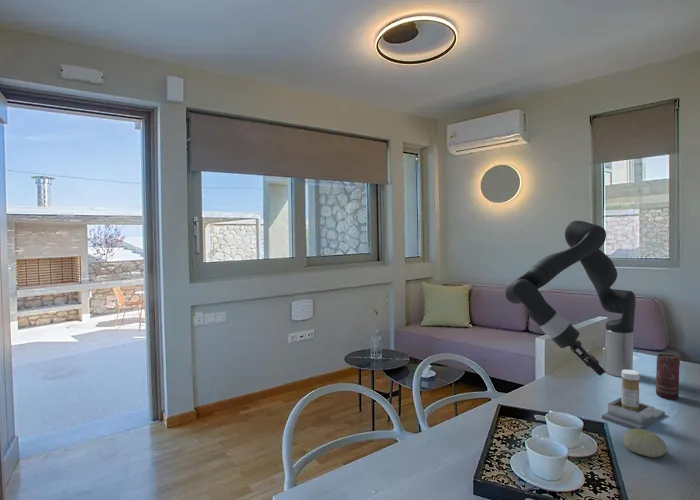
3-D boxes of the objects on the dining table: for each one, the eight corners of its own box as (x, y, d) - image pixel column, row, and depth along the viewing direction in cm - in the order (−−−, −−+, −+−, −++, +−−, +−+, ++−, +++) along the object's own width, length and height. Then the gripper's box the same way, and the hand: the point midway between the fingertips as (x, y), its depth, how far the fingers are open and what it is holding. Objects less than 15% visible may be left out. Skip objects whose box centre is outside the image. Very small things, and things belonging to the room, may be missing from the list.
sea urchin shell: (658, 458, 102) (633, 425, 106) (633, 468, 107) (611, 437, 112) (677, 448, 106) (653, 417, 111) (653, 459, 111) (630, 429, 116)
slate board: (601, 418, 127) (601, 415, 127) (628, 403, 137) (628, 400, 137) (639, 431, 119) (639, 427, 118) (664, 414, 129) (664, 411, 129)
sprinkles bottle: (628, 410, 129) (628, 368, 129) (642, 416, 125) (643, 372, 124) (617, 413, 128) (618, 370, 127) (631, 419, 124) (632, 375, 123)
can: (683, 400, 139) (684, 359, 138) (661, 399, 140) (662, 358, 139) (673, 393, 145) (674, 353, 144) (652, 392, 146) (653, 353, 145)
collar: (607, 413, 128) (607, 404, 128) (621, 406, 133) (621, 397, 133) (641, 424, 120) (641, 414, 120) (654, 416, 125) (654, 406, 125)
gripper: (571, 326, 124) (615, 368, 121) (565, 317, 138) (604, 354, 134) (551, 342, 126) (594, 384, 123) (547, 331, 140) (585, 369, 136)
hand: (599, 369), depth 129 cm, fingers open, 8 cm apart
